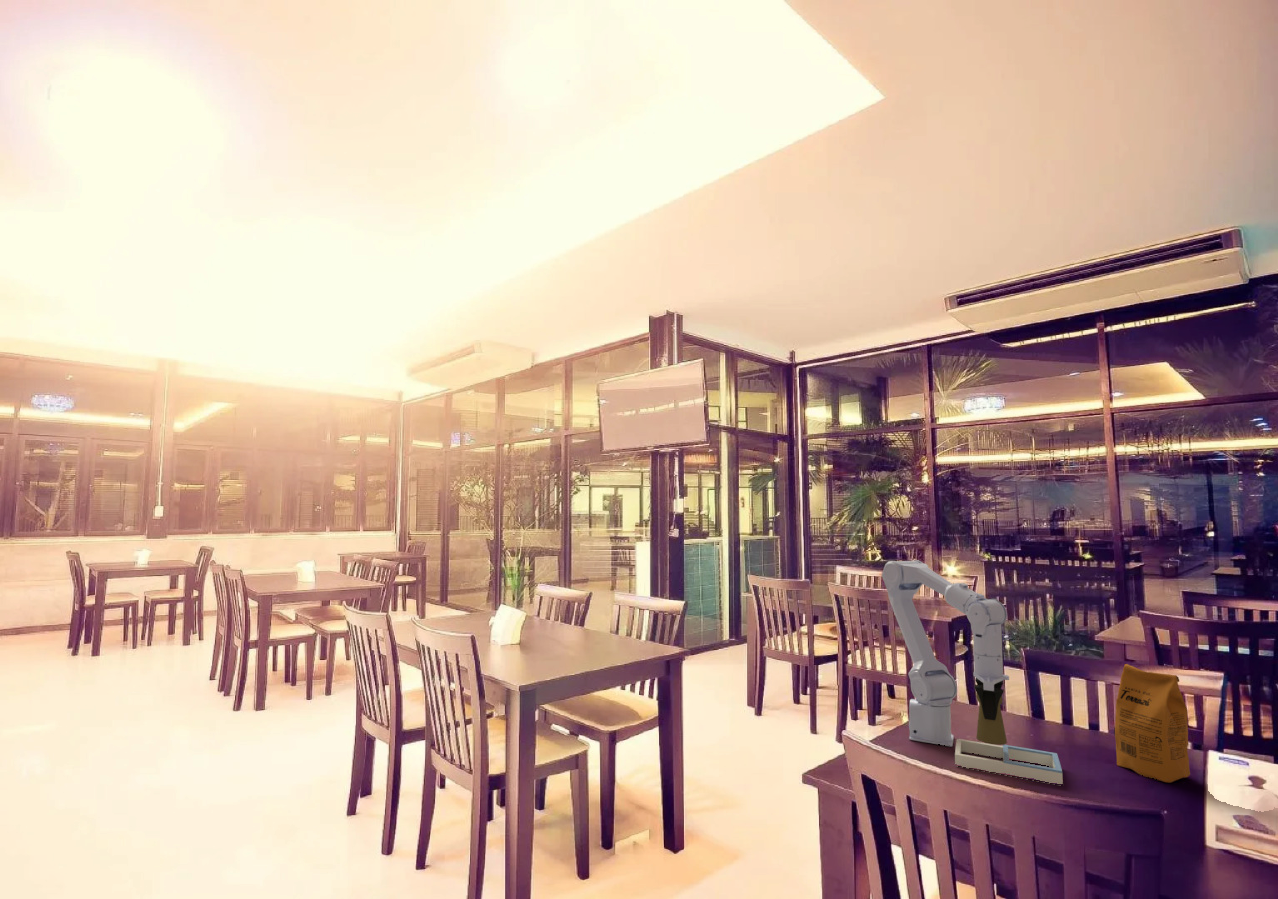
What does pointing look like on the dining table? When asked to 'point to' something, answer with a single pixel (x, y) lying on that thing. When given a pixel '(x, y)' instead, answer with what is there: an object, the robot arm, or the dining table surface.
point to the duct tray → (1006, 765)
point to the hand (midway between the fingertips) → (989, 715)
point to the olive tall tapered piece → (991, 727)
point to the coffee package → (1151, 725)
